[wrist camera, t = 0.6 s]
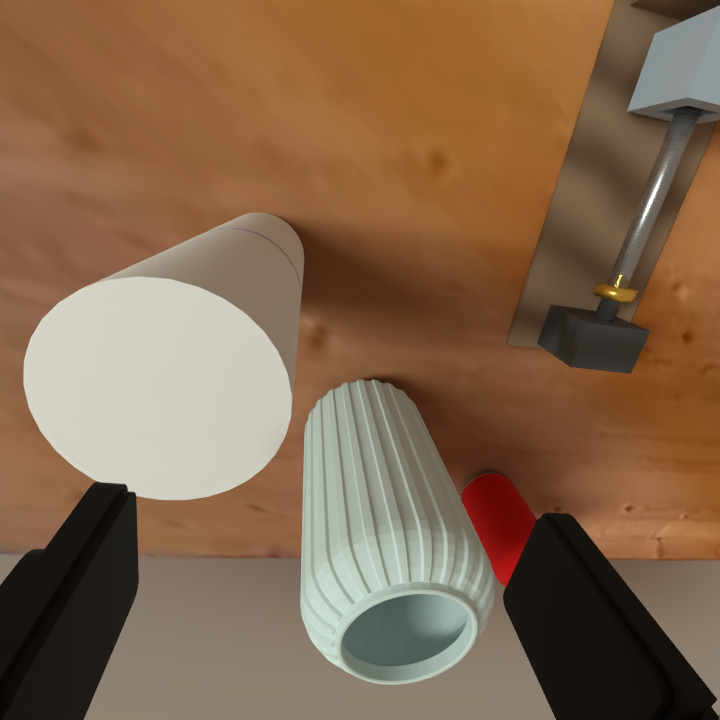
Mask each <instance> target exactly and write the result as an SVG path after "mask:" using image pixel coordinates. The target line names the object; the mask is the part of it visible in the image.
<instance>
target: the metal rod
mask: <svg viewBox="0 0 720 720" xmlns="http://www.w3.org/2000/svg"><path fill="white" fill-rule="evenodd" d="M719 5H720V1H719V2H718V4H717V6H719ZM701 112H702V109H700V108H696V107H692V106H688V105H687V106H682V107H678V108H676V110H675V113H674V115H673V118H672V120H671V123H670V126H669V128H668V131H667V133H666V136H665V138H664V141H663V143H662V146H661V148H660V151H659V153H658V156H657V158H656V161H655V163H654V166H653V168H652V171H651V174H650V176H649V179H648V181H647V184H646V186H645V189H644V191H643V194H642V196H641V199H640V201H639V204H638V206H637V209H636V211H635V214H634V216H633V219H632V221H631V224H630V227H629V229H628V232H627V234H626V237H625V239H624V242H623V244H622V247H621V249H620V252H619V254H618V257H617V259H616V262H615V264H614V267H613V269H612V272H611V275H610V277H609V280H608V282H607V283H606V282H596V285H595V287H594V290H593V292H592V294H594V295H596V296H599V297H601V300H600V302H599V305H598V307H597V310H596V312H595V315H594V318H595V319H597V320H600V321H604V322H609V323H613V322H614V320H615V318H616V315H617V313H618V310H619V308H620V306H621V303H622V302H624V303H634V300H635V298H636V296H637V293H638V291H637V290H635V289H632V288H628V287H629V284H630V282H631V279H632V277H633V275H634V272H635V270H636V267H637V265H638V263H639V260H640V258H641V255H642V253H643V251H644V248H645V246H646V243H647V241H648V239H649V236H650V234H651V231H652V229H653V227H654V224H655V222H656V219H657V217H658V215H659V212H660V210H661V207H662V205H663V203H664V200H665V198H666V196H667V193H668V191H669V188H670V186H671V184H672V181H673V179H674V176H675V174H676V172H677V169H678V167H679V164H680V162H681V160H682V157H683V155H684V152H685V150H686V148H687V145H688V143H689V140H690V138H691V136H692V133H693V131H694V128H695V126H696V124H697V121H698V119H699V116H700V114H701Z"/></svg>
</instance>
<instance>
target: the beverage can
mask: <svg viewBox="0 0 720 720" xmlns="http://www.w3.org/2000/svg"><path fill="white" fill-rule="evenodd" d="M462 503H463V505H464V508H465V510H466V512H467V514H468V516H469V518H470V520H471V522H472V524H473V526H474V529H475V531H476V533H477V535H478V537H479V539H480V541H481V543H482V545H483V548H484V550H485V552H486V554H487V556H488V558H489V560H490V563H491V567H492V569H493V571H494V574H495V576H496V577H497V579H498V580H499V582H500V583H501V584H502V585H503V586H505V587H506V586H507V584H508V582H509V580H510V577H511V575H512V573H513V571H514V569H515V566H516V564H517V562H518V560H519V558H520V555H521V553H522V551H523V549H524V547H525V544H526V542H527V540H528V538H529V536H530V533H531V531H532V529H533V527H534V525H535V522H536V521H537V519H536V517H535V516H534V514H533V513H532V511H531V510H530V508H529V507H528V505H527V504H526V503H525V501H524V500H523V498H522V497H521V495H520V494H519V492H518V491H517V489H516V488H515V486H514V485H513V483H512V482H511V481H510V480H509V479H508V478H507V477H506V476H504V475H502V474H499V473H485V474H482V475H479V476H477V477H475V478H474V479H473V480H471V481H470V482H469V483H468V484H467V486H466V487H465V489H464V491H463V494H462Z"/></svg>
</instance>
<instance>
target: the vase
mask: <svg viewBox="0 0 720 720" xmlns="http://www.w3.org/2000/svg"><path fill="white" fill-rule="evenodd" d="M301 562H302V563H301V601H300V604H301V614H302V619H303V622H304V624H305V627H306V629H307V632H308V634H309V637H310V639H311V641H312V642H313V644H314V645H315V646H316V647H317V649H318V650H319V651H321V652H322V654H323V655H324V656H325V657H326V659H328V660H329V661H330V662H332V663H333V664H334V665H336V666H337V667H341V668H342V669H343V670H345V671H346V672H348V673H350V674H352V675H354V676H356V677H358V678H360V679H362V680H365V681H368V682H372V683H378V684H387V685H390V684H391V685H396V684H407V683H413V682H417V681H421V680H424V679H427V678H430V677H433V676H435V675H438V674H440V673H441V672H443V671H445V670H447V669H448V668H450V667H452V666H453V665H454V664H456V663H457V662H458V661H459V660H461V659H462V658H463V657H464V656H465V654H466V653H467V652H468V651H469V650H470V648H471V647H472V646H473V644H474V643H475V642H476V640H477V639H478V637H479V635H480V633H482V632H483V630H484V628H485V626H486V625H487V622H488V620H489V617H490V613H491V610H492V606H493V603H494V597H495V586H494V574H493V570H492V567H491V563H490V560H489V558H488V556H487V554H486V552H485V550H484V548H483V545H482V543H481V541H480V539H479V537H478V535H477V533H476V531H475V529H474V526H473V524H472V522H471V520H470V518H469V516H468V514H467V512H466V510H465V508H464V505H463V503H462V501H461V499H460V497H459V495H458V493H457V491H456V489H455V486H454V484H453V482H452V480H451V478H450V476H449V474H448V472H447V470H446V468H445V465H444V463H443V461H442V459H441V457H440V455H439V453H438V451H437V449H436V446H435V444H434V442H433V440H432V438H431V436H430V434H429V432H428V430H427V428H426V425H425V423H424V421H423V419H422V417H421V415H420V413H419V411H418V409H417V407H416V405H415V403H414V402H413V401H412V400H411V399H410V398H408V396H407V395H406V393H405V392H403V391H402V390H400V389H396V388H395V387H394V386H393V385H392V384H389V383H380V382H379V380H374V379H372V380H371V381H364V380H363V379H359V380H357V381H356V382H352V383H348V382H345V383H343V384H342V386H340V387H338V388H333V389H331V390H330V391H328V394H327V395H326V396H324V397H321V398H320V399H319V400H318V401H317V404H316V407H314V408H313V409H312V410H311V412H310V414H309V417H308V421H307V422H306V426H305V437H304V478H303V519H302V559H301Z"/></svg>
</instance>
